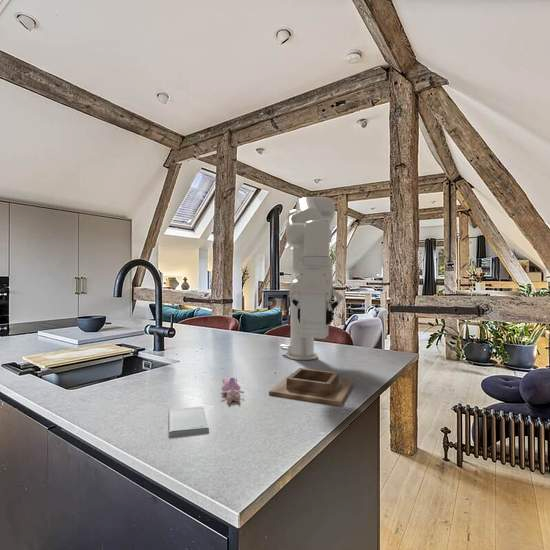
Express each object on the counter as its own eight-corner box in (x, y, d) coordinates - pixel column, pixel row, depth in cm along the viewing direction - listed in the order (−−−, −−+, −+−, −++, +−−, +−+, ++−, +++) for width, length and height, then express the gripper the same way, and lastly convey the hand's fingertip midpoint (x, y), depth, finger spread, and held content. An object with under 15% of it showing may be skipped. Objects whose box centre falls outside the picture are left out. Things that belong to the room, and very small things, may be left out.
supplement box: (329, 335, 107) (330, 293, 107) (324, 339, 100) (325, 294, 100) (305, 333, 110) (306, 292, 110) (298, 337, 103) (299, 293, 103)
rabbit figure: (246, 409, 93) (238, 382, 107) (247, 387, 92) (239, 363, 106) (221, 410, 91) (217, 383, 105) (222, 389, 90) (218, 364, 104)
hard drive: (209, 427, 76) (203, 405, 88) (169, 431, 73) (168, 408, 85) (209, 435, 76) (203, 412, 88) (168, 439, 73) (168, 415, 85)
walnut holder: (268, 394, 99) (269, 380, 99) (292, 375, 118) (292, 363, 118) (340, 405, 92) (340, 390, 92) (353, 383, 111) (353, 371, 111)
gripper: (283, 262, 104) (282, 322, 105) (343, 263, 98) (341, 327, 98) (292, 263, 111) (290, 319, 112) (348, 263, 105) (346, 323, 105)
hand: (314, 322), depth 105 cm, fingers closed on supplement box, 7 cm apart
